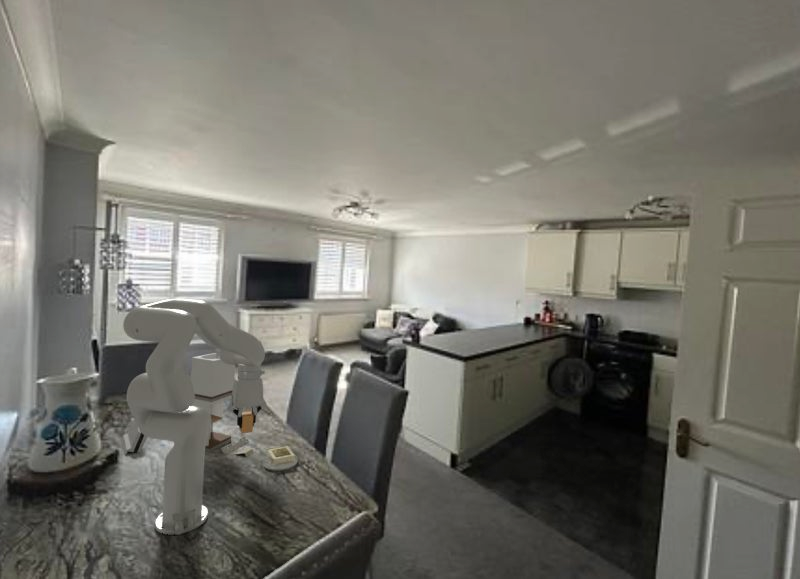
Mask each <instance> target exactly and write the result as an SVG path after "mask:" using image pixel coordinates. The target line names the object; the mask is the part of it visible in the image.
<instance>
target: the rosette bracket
mask: <svg viewBox="0 0 800 579" xmlns="http://www.w3.org/2000/svg"><path fill="white" fill-rule="evenodd" d="M266 454H267V456H265V457H264V458H263V461H262V466H263V468H264V469H266V470H268V471H271V472H285V471H288V470H291V469H293V468H295V467H296V466H297V464H298V456H297V454H295V453H294V452H293V451H292V449H291V448H290V447H289V446H288V445H287V446H279V447H275V448H270V449H267V451H266Z"/></svg>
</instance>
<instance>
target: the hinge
mask: <svg viewBox="0 0 800 579" xmlns="http://www.w3.org/2000/svg"><path fill="white" fill-rule="evenodd" d="M147 438H148V437H146V436H145V435H143V434H142V432H141V431H140V429H139V427H138V425H137V423H136V421H135V419H134V420H133V422H132V424H131V426H130V427H129V429H128V431H127V433H125V434H123V435H122V438H121V444H122V449H123V454H124V455H123V456H127V453H128V452H130V453H134V452H136V453H137V454H138V453H142V450H143V448H144V446H145V443H146V441H147Z"/></svg>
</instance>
